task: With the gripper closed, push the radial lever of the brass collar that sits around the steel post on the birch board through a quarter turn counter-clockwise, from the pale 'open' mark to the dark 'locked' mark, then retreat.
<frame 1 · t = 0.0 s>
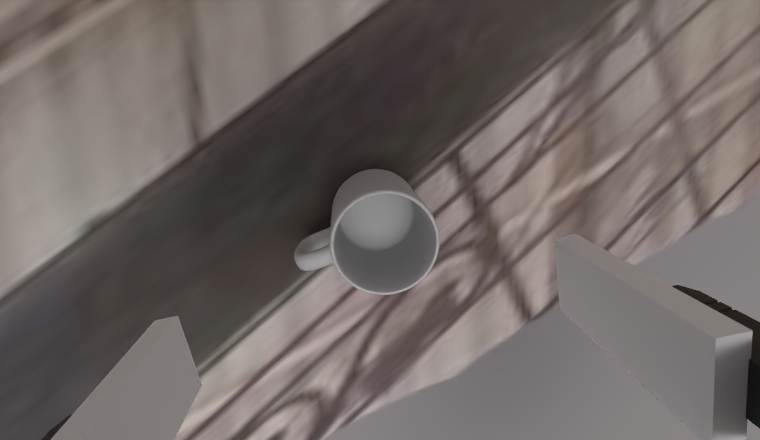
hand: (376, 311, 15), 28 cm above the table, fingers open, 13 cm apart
mug: (358, 216, 43), on the table
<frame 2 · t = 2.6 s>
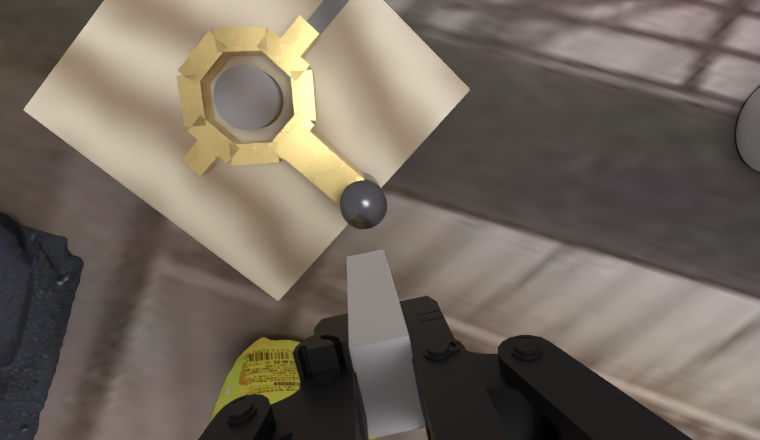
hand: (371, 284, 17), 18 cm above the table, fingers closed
collar: (290, 136, 28), point 5 cm above the table, hinge at 0.0°
post board: (260, 100, 32), on the table
bottle: (306, 362, 38), on the table
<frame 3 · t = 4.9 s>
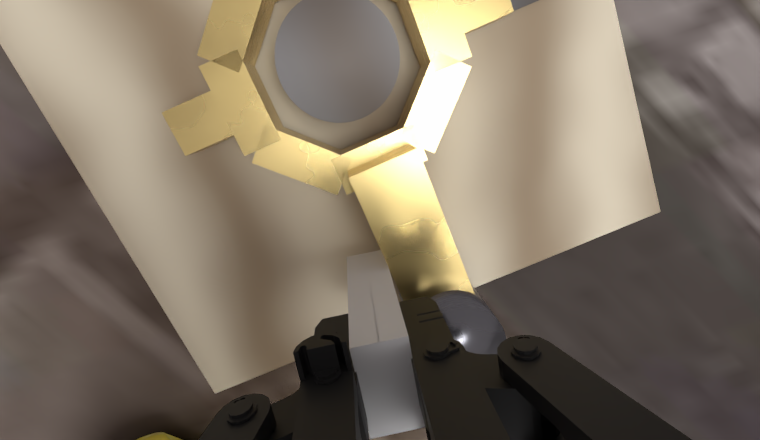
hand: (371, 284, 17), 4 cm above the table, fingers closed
collar: (380, 161, 15), point 5 cm above the table, hinge at 0.8°, touching gripper
post board: (339, 71, 18), on the table
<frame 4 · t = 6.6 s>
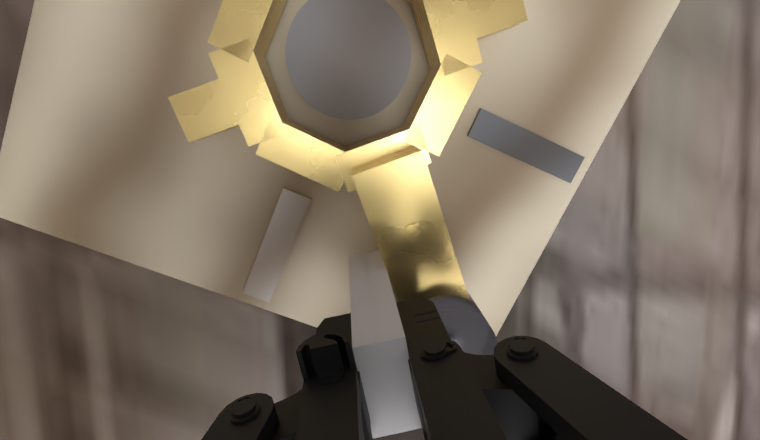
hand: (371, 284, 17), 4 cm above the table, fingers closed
collar: (384, 161, 15), point 5 cm above the table, hinge at 42.8°, touching gripper
post board: (348, 68, 18), on the table
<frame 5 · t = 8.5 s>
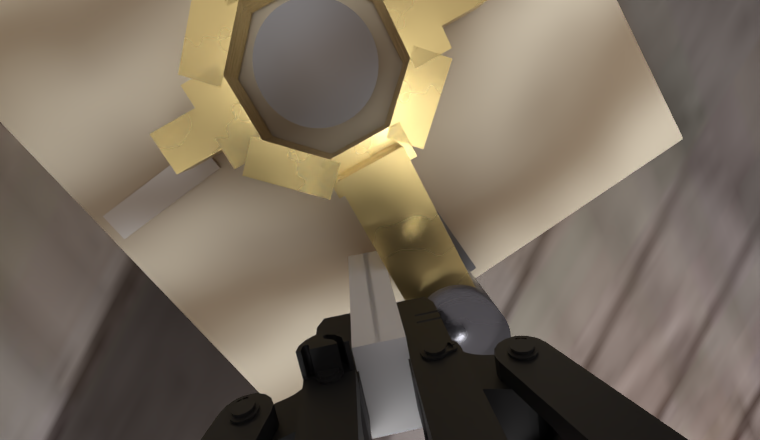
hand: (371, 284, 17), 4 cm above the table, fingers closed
collar: (369, 162, 15), point 5 cm above the table, hinge at 82.9°, touching gripper
post board: (324, 75, 18), on the table
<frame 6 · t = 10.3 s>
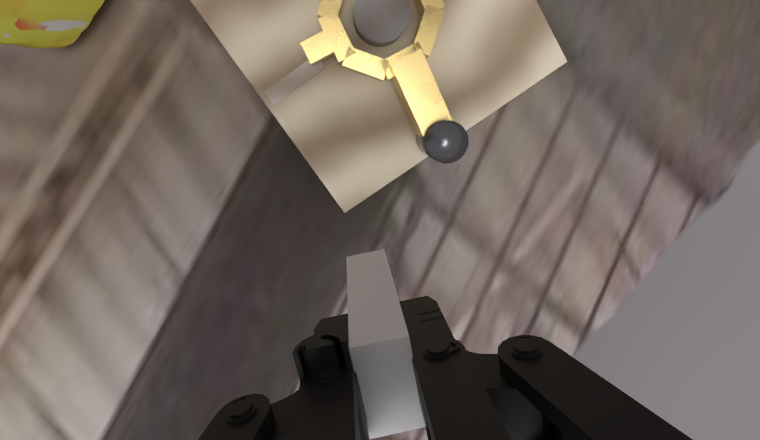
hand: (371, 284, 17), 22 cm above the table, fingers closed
collar: (404, 59, 31), point 5 cm above the table, hinge at 82.5°
post board: (377, 24, 35), on the table
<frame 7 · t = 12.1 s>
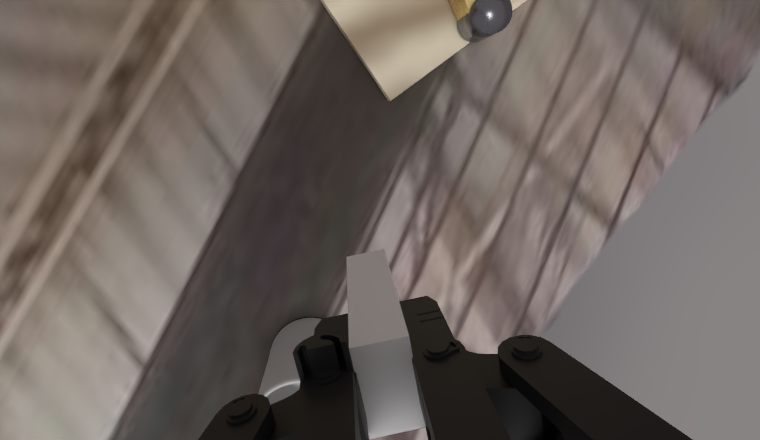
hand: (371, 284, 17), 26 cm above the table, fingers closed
mug: (300, 360, 47), on the table
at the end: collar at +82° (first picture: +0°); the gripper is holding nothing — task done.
